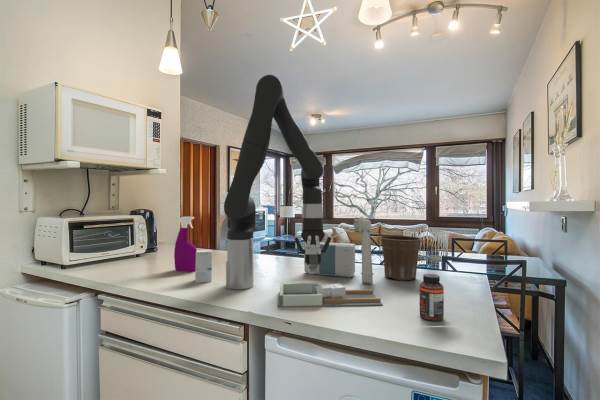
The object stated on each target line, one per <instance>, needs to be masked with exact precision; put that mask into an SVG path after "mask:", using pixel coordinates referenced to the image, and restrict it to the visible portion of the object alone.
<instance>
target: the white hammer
mask: <svg viewBox="0 0 600 400" xmlns="http://www.w3.org/2000/svg"><path fill="white" fill-rule="evenodd" d="M353 221H354V222H353V228H354V230H353V231H354V233H359V234H361V272H360V275H361V284H363V285H372V284H373V283H374V282H373V275H374V273H373V262H372V261H373V259H372V257H373V256H372V246H371V245H372V243H371V229H372V222H371V220H370V219H369V218H365V217H364V216H359V217H354V219H353Z"/></svg>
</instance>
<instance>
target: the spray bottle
mask: <svg viewBox="0 0 600 400" xmlns="http://www.w3.org/2000/svg"><path fill="white" fill-rule="evenodd" d="M194 219H195V217H194V216H190V215H189V216H181V217H180V218H178V221H179V222H180V225H181V227H180V228H179V230H178V233H177V237H176V241H175V242H174V243H175V244H174V255H173V258H174V269H175V271H176V272H186V273H195V271H196V251H197V250H198V249H197V247H196V246H195V245H194V244H193V243H192V242H190V241H189V240H188V231H189V228H188V225H189V227H190V228H191V229H194V227H193V224H192V220H194Z"/></svg>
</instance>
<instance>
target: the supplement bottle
mask: <svg viewBox="0 0 600 400" xmlns="http://www.w3.org/2000/svg"><path fill="white" fill-rule="evenodd" d="M422 276H423V277H422V279H423V280H422V281H421V282H420V283H419V293H418V294H419V315H420V317H421V318H422V319H424V320H427V321H432V322H439V321H442V320H444V315H445V313H444V309H445V308H444V304H445V302H444V301H445V300H444V297H445V295H444V294H445V293H444V290H445V289H444V285H443V284H442V283H441V282H440V280H441V279H440V275H438V274H436V273H424V274H423V275H422Z"/></svg>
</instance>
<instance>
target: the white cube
mask: <svg viewBox="0 0 600 400" xmlns="http://www.w3.org/2000/svg"><path fill="white" fill-rule="evenodd" d="M312 294H322V301H324V298H331V287H329V286H328V284H326V283H320V284H319V283H318V285H312Z"/></svg>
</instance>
